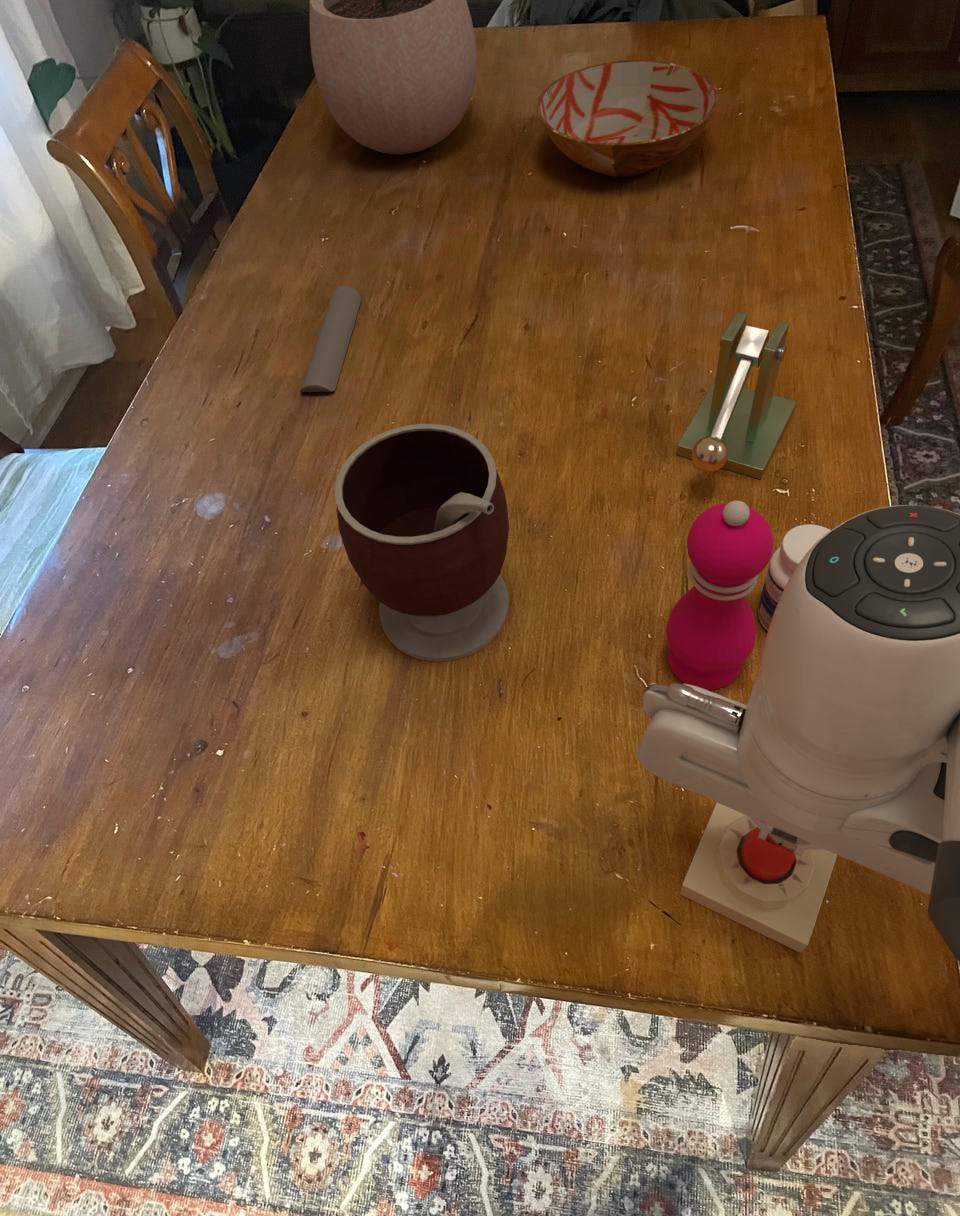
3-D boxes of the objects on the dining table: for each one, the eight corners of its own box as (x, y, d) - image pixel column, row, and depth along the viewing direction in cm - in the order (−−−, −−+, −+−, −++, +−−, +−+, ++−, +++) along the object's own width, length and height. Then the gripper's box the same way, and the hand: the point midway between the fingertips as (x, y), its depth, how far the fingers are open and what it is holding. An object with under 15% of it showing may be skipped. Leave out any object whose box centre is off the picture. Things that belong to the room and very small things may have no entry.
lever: (721, 480, 82) (719, 470, 79) (688, 470, 83) (684, 460, 80) (775, 344, 82) (775, 329, 79) (741, 336, 83) (739, 321, 80)
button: (796, 847, 60) (801, 838, 59) (781, 890, 59) (786, 882, 57) (749, 826, 61) (753, 817, 60) (733, 867, 60) (737, 859, 58)
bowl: (732, 126, 127) (740, 67, 121) (680, 214, 115) (686, 154, 108) (575, 108, 135) (575, 52, 129) (511, 189, 123) (507, 132, 116)
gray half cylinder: (299, 397, 100) (294, 385, 99) (331, 297, 111) (328, 285, 110) (333, 397, 100) (330, 384, 98) (362, 296, 111) (359, 284, 109)
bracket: (760, 480, 86) (785, 378, 75) (675, 454, 89) (688, 354, 78) (794, 411, 91) (821, 307, 80) (713, 390, 94) (729, 287, 84)
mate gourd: (342, 613, 81) (281, 463, 65) (445, 528, 86) (412, 368, 70) (456, 707, 74) (419, 565, 58) (561, 608, 79) (555, 451, 63)
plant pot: (320, 185, 129) (259, -54, 105) (349, 110, 143) (301, -117, 118) (476, 178, 126) (450, -70, 101) (491, 102, 139) (471, -133, 115)
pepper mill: (665, 622, 77) (686, 463, 61) (747, 629, 75) (792, 469, 59) (659, 690, 73) (681, 540, 57) (747, 700, 71) (794, 549, 55)
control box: (833, 854, 63) (847, 834, 60) (801, 953, 60) (813, 938, 56) (717, 802, 66) (724, 781, 63) (679, 894, 63) (684, 876, 59)
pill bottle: (826, 597, 77) (854, 525, 68) (820, 649, 73) (848, 579, 65) (760, 585, 78) (780, 513, 70) (751, 636, 75) (772, 566, 67)
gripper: (623, 717, 48) (619, 811, 59) (1018, 881, 41) (930, 954, 52) (665, 633, 51) (655, 738, 62) (1042, 772, 44) (953, 863, 55)
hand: (782, 837), depth 57 cm, fingers closed
